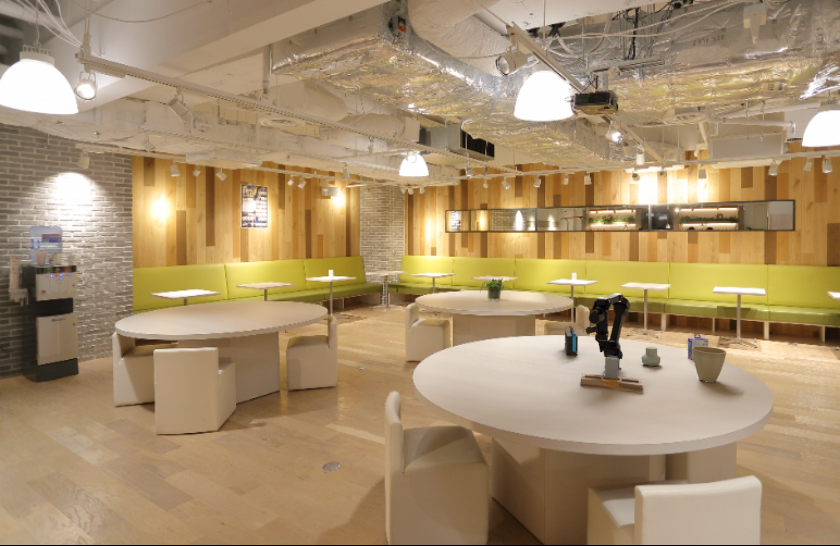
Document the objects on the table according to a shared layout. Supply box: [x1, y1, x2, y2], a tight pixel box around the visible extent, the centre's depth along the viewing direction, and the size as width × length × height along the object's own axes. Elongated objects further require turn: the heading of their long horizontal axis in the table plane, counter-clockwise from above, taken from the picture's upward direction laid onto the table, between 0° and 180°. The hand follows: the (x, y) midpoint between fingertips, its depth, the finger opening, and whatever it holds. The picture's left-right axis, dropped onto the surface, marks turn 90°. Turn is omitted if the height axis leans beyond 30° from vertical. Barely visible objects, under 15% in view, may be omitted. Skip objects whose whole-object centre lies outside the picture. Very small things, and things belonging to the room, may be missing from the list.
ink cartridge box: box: [687, 333, 709, 361], centre depth 292 cm, size 10×6×14 cm, turn 89°
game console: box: [564, 325, 579, 356], centre depth 311 cm, size 28×6×15 cm, turn 167°
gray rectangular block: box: [604, 357, 619, 380], centre depth 241 cm, size 3×6×13 cm, turn 67°
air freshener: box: [641, 346, 661, 367], centre depth 279 cm, size 11×8×10 cm
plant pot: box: [693, 346, 727, 383], centre depth 250 cm, size 15×15×16 cm
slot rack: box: [580, 373, 644, 393], centre depth 242 cm, size 10×28×4 cm, turn 67°
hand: (601, 350), depth 261 cm, fingers open, 9 cm apart
